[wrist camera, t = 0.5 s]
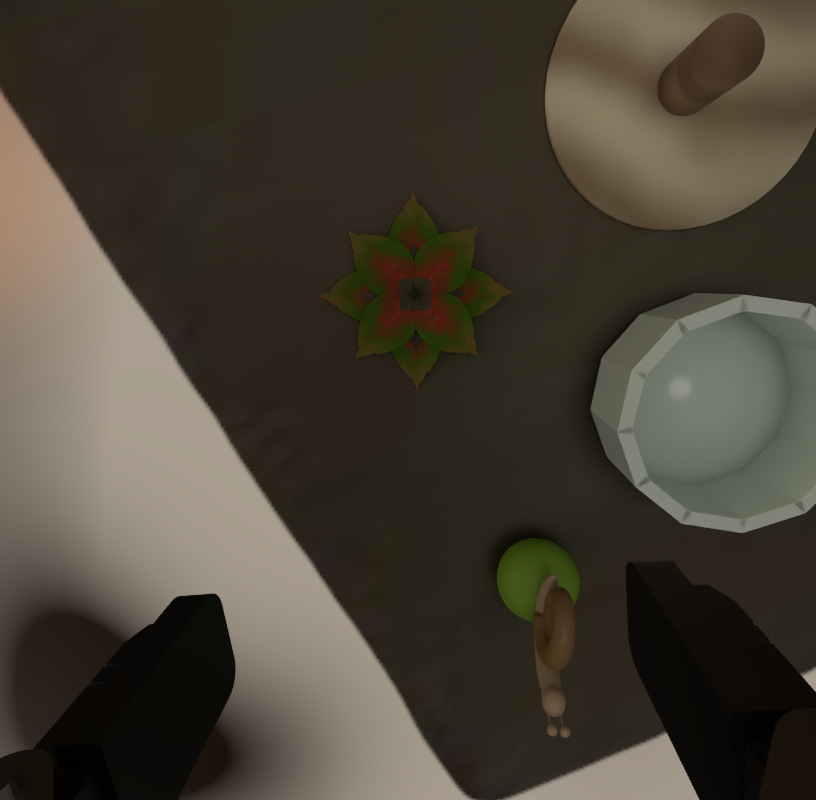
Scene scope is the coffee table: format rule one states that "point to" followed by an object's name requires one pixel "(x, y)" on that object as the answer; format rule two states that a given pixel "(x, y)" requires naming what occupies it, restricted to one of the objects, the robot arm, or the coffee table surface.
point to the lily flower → (434, 260)
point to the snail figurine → (544, 610)
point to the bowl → (715, 409)
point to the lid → (681, 104)
